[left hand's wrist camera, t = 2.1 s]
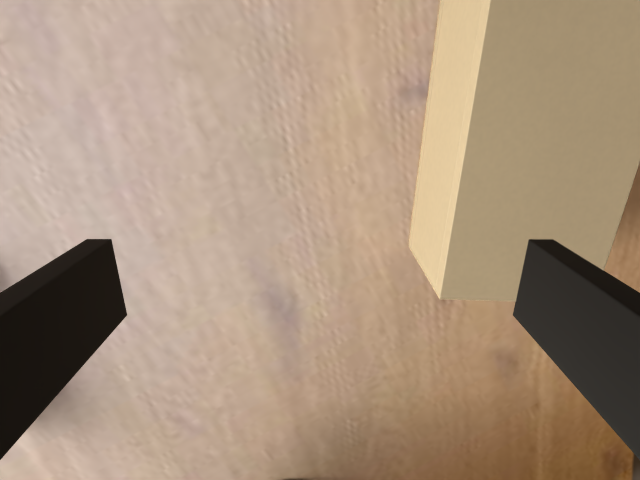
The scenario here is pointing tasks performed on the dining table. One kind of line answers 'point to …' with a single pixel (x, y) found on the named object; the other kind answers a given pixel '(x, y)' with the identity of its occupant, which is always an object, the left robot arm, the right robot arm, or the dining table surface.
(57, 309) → the left robot arm
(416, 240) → the cabinet
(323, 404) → the dining table surface
